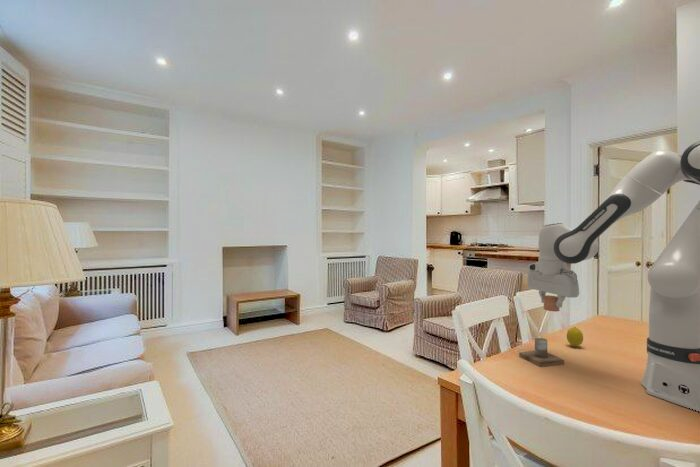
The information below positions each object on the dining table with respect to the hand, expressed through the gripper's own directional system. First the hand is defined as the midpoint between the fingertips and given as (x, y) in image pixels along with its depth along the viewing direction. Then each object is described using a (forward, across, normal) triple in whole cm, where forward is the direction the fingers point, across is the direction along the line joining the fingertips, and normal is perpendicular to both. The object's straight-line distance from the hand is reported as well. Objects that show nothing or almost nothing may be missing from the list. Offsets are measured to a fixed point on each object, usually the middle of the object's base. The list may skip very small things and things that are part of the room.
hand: (551, 305), depth 125 cm
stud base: (+19, -2, +6) cm, 20 cm away
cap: (+2, 0, 0) cm, 2 cm away
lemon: (+20, +7, -18) cm, 28 cm away
